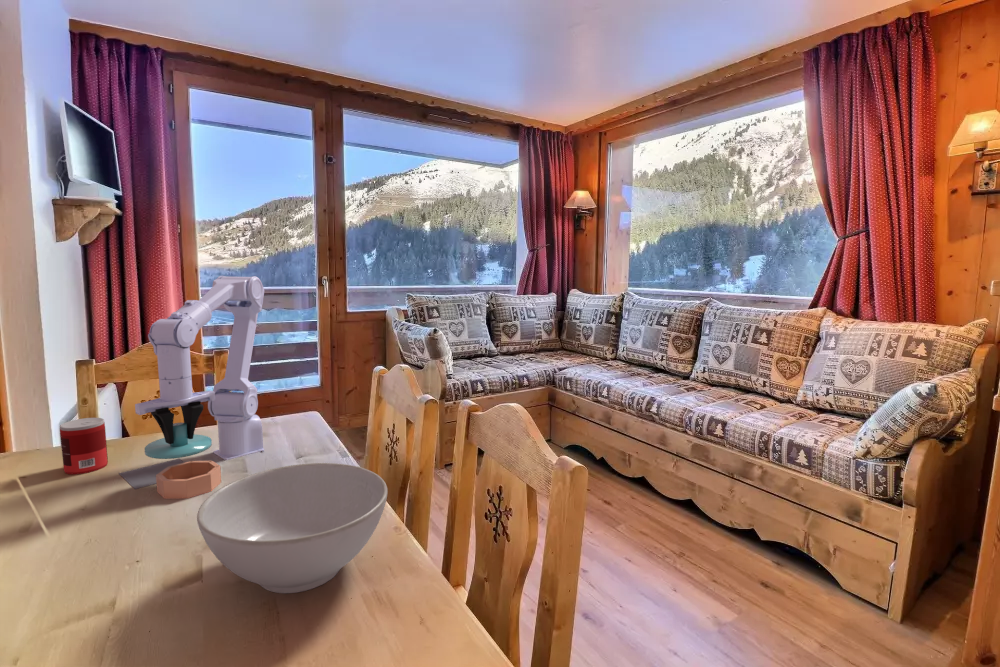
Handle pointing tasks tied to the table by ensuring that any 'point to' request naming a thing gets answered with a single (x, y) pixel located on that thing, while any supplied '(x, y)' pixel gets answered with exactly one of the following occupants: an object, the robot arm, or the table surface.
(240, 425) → the robot arm
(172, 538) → the table surface
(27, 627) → the table surface
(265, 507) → the decorative bowl
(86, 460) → the canned food
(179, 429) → the lid
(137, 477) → the mat
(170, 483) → the ramekin
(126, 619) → the table surface
